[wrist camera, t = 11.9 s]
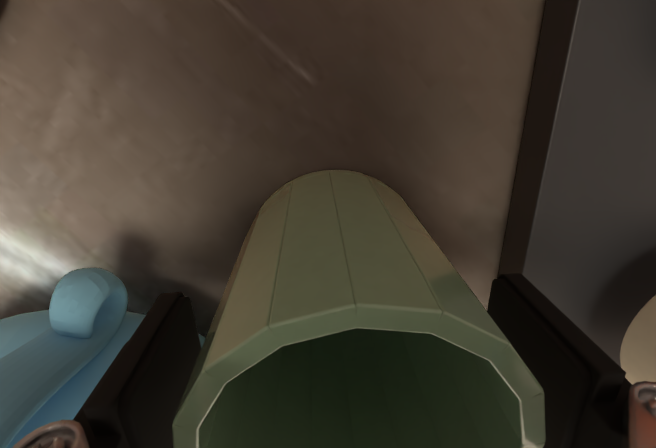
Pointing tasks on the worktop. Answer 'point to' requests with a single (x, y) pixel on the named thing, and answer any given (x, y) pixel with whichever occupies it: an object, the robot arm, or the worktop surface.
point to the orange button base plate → (590, 167)
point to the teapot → (61, 351)
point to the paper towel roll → (640, 346)
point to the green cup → (353, 336)
